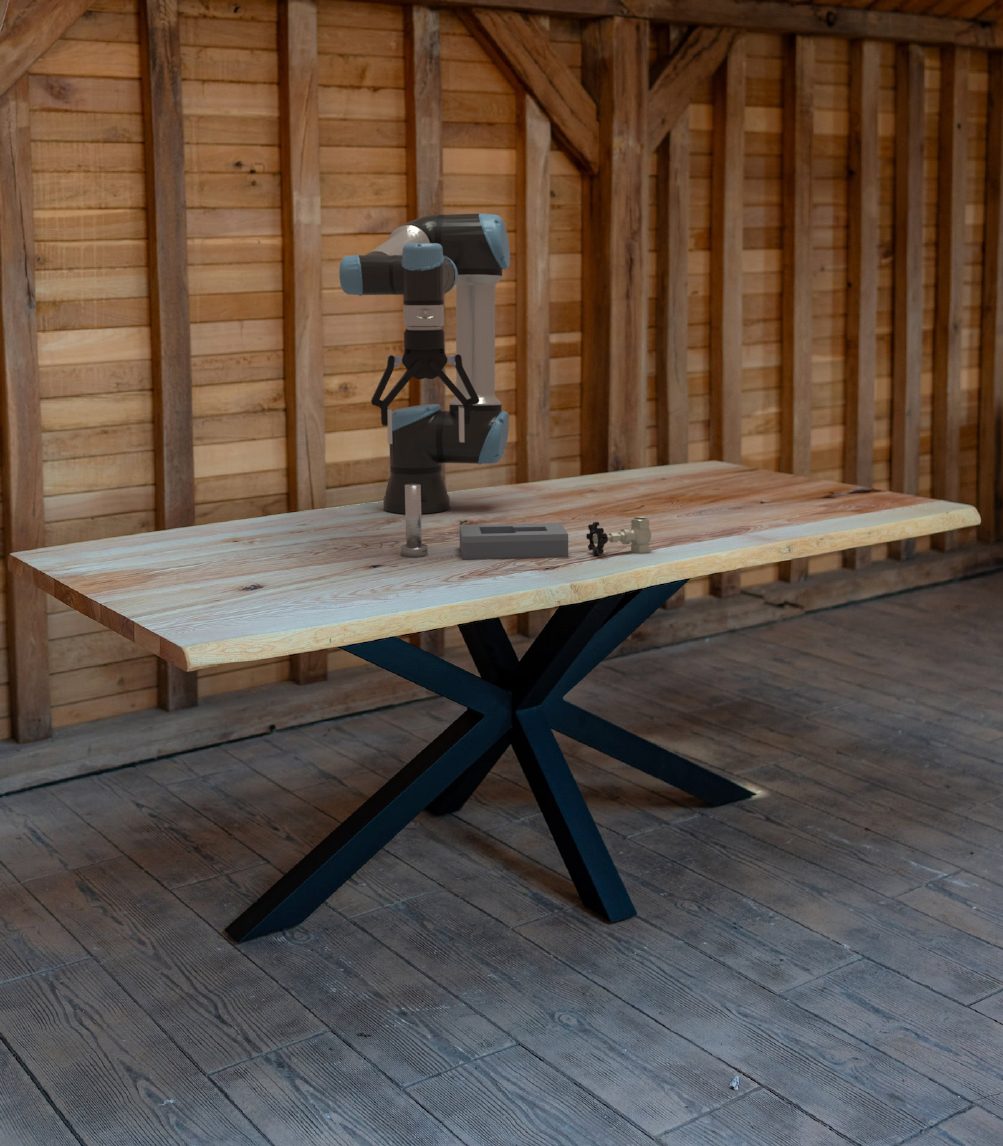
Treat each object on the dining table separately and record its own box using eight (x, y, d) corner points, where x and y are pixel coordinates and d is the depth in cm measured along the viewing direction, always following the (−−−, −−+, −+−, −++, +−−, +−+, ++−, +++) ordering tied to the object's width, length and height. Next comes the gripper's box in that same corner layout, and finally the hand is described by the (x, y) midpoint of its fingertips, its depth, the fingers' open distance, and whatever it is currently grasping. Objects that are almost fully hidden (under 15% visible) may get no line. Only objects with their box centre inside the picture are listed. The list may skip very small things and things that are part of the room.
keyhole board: (463, 559, 254) (462, 536, 253) (459, 547, 265) (459, 525, 264) (568, 556, 256) (568, 533, 255) (560, 544, 267) (560, 522, 266)
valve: (641, 547, 264) (586, 552, 260) (642, 514, 263) (586, 519, 259) (657, 554, 258) (600, 559, 254) (658, 520, 257) (601, 525, 253)
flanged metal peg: (395, 555, 259) (393, 485, 256) (413, 550, 263) (411, 482, 259) (415, 558, 255) (413, 488, 252) (433, 553, 259) (432, 484, 256)
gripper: (357, 330, 246) (360, 446, 250) (493, 328, 249) (493, 443, 253) (355, 328, 253) (359, 441, 258) (488, 326, 256) (488, 438, 261)
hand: (426, 442), depth 255 cm, fingers open, 13 cm apart
